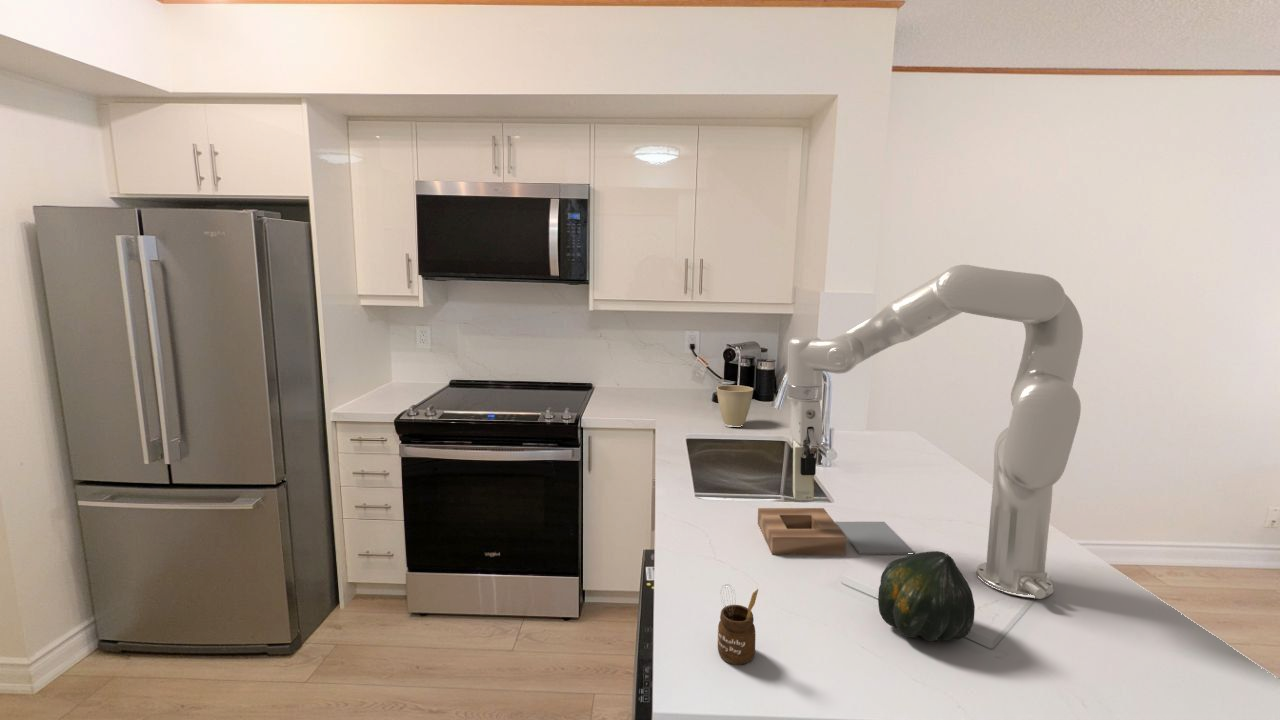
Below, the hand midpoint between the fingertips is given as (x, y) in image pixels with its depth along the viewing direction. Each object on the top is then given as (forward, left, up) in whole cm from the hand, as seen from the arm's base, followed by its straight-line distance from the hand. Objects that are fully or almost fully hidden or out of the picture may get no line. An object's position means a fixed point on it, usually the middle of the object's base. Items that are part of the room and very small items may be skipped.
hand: (803, 468), depth 129 cm
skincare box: (0, 0, -7) cm, 7 cm away
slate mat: (0, -17, -17) cm, 24 cm away
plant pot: (+104, -1, -17) cm, 105 cm away
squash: (-34, -12, -17) cm, 40 cm away
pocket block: (0, 0, -17) cm, 17 cm away
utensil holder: (-41, +21, -17) cm, 50 cm away
